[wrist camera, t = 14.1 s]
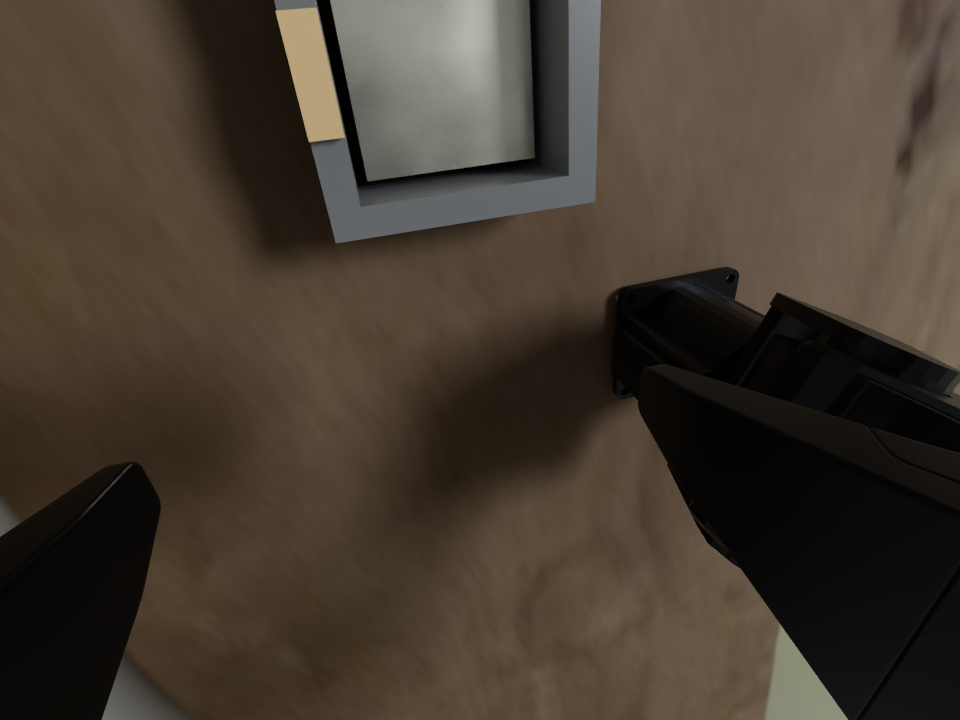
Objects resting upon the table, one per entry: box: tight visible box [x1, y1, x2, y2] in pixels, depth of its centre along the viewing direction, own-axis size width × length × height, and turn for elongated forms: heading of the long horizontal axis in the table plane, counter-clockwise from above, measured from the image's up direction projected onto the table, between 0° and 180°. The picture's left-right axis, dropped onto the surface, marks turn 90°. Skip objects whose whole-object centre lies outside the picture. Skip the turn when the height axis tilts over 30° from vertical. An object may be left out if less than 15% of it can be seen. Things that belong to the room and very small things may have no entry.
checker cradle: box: [274, 0, 601, 243], centre depth 15 cm, size 9×9×4 cm
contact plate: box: [330, 0, 535, 181], centre depth 16 cm, size 6×6×2 cm
